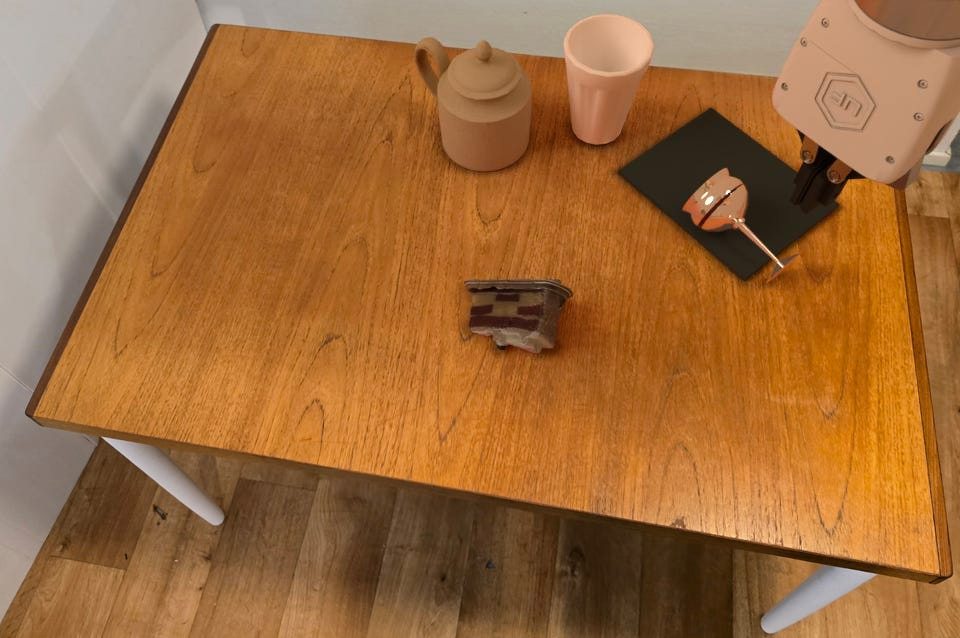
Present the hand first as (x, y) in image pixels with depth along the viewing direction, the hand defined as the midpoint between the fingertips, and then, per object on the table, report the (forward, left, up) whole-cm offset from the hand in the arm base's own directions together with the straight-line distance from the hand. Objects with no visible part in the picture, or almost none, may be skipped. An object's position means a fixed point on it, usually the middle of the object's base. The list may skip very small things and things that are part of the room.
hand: (810, 198), depth 56 cm
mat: (+14, -16, -25) cm, 33 cm away
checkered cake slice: (+16, +15, -25) cm, 34 cm away
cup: (+31, -11, -25) cm, 42 cm away
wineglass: (+2, -11, -22) cm, 25 cm away
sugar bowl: (+40, +2, -25) cm, 48 cm away
